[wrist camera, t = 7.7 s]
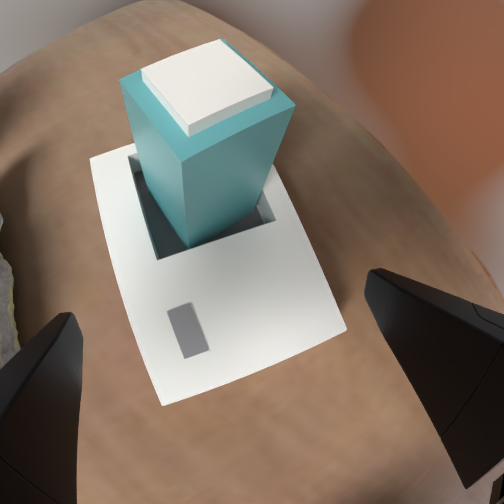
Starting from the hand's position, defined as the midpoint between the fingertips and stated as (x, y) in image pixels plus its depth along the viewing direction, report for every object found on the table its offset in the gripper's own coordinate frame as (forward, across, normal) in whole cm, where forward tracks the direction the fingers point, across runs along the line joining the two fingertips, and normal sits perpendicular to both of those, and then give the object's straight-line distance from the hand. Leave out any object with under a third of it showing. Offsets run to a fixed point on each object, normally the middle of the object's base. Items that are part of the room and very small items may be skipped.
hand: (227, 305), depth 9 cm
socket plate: (+9, 0, +3) cm, 10 cm away
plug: (+11, 0, +1) cm, 11 cm away
